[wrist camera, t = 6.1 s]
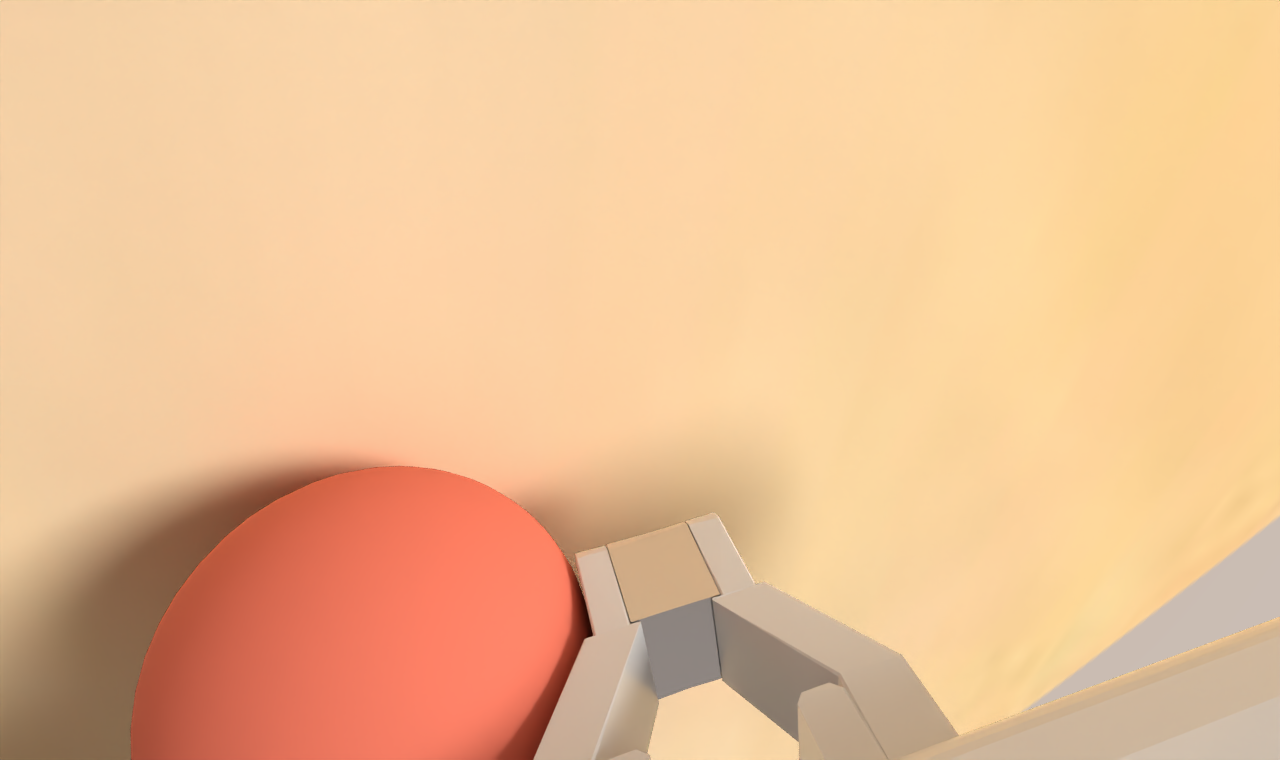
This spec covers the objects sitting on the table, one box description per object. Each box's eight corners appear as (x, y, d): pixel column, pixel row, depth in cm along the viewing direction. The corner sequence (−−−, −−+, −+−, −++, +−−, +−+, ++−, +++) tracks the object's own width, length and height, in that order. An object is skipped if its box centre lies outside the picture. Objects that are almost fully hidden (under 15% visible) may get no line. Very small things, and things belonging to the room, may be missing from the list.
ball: (429, 586, 15) (158, 862, 10) (352, 356, 12) (-89, 619, 7) (671, 705, 12) (443, 1134, 8) (660, 451, 9) (261, 950, 5)
